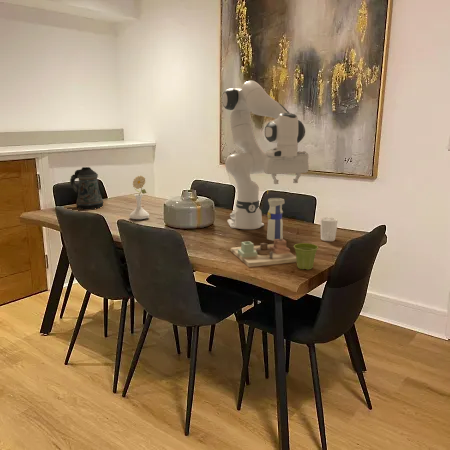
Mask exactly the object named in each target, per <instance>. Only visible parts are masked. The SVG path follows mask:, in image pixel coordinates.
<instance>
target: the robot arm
mask: <svg viewBox="0 0 450 450" xmlns="http://www.w3.org/2000/svg"><path fill="white" fill-rule="evenodd" d="M221 103H222V105H223V107H224V109H226V110H228V111H230V114H229V115H230V121H229V123H230V131H231V135H232V140H233V144H234V145H235V146H236V147H237V148H239V149H240V150H241V151H242V152H243V153H242V152H238V153H237V152H236V153H233V154H229V155H228V156H227V157H226V160H225V163H224V164H225V165H224V166H225V169H226V172H228V174H230V175H231V176H232V177H233V180H234V181H235V183H236V188H237V192H236V193H237V199H236V203H235V208H234V209H233V210H232V212H231V213H229V217H230V218H229V219H227V220H226V221H227V223H228V225H229V227H230V229H231V228H232V229H240V230H256V229H260V228H262V227H264V226H265V223H264V222H263V220H262V219H263V218H262V210H261V209H260V200H259V198H260V197H259V195H260V192H259V191H260V190H259V189H260V188H259V185H258V183H256V182H255V181H253V180H252V179H251V175H253V174H255V175H258V174H259V175H260V174H264V173H265V174H266V175H271V177H272V179H273V185H279V179H277V175H279V174H295V178H293V181H292V182H293V184H298V183H299V179H300V178H301V175H302V174H303V173H305V174H307V173H308V171H309V170H310V169H309V154H308V152H306V151H298V147H299V146H298V145H299V143H300V142H301V141H302V140H303V139H304V138H305V135H306V128H305V125H304V124H303V122H302V121H301V120H300V119H298V115H296V114H295V113H291V112H289V111H288V110H287V109H286V107H285V106H283V104H281V103H280V102H278V101H277V100H275V99H274V98H272V97H271V96H270V95H269V94H268V93H267V92H266V90H265V89H264V88H263V86H262V85H260V84H259V83H258V82H256V81H255V80H248V81H247V80H246V81H245V82H244V83H243V84H242V86H241V87H237V88H236V87H235V88H228V89H225V90H224V92H223V93H222V95H221ZM251 113H252V114H253V115H256V116H260V117H261V116H262V117H268V118H272V119H274V120H271V121H269V122H268V123H267V124H266V126H265V127H264V137H265V138H266V140H267V141H268V142H269V143H272V144H274V143H275V144H276V145H277V146H276V147H274V148H272V149H268V150H267V151H264V150H263V149H262V148H261V147H260V145H259V144H258V142H257V140H256V136H255V133H254V128H253V124H252V120H251Z"/></svg>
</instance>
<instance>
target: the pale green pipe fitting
mask: <svg viewBox="0 0 450 450" xmlns="http://www.w3.org/2000/svg"><path fill="white" fill-rule="evenodd" d="M240 245H241V246H240V247H241V249H238V254H239V255H241V256H242V257H252V256H257V252H256V251H255V250H254V246H255V245H254V242H252V241H249V240H247V241H241V242H240Z"/></svg>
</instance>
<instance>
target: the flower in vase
mask: <svg viewBox="0 0 450 450" xmlns="http://www.w3.org/2000/svg"><path fill="white" fill-rule="evenodd" d="M145 184H146V178H145V176H143V175H137V176H136V177H135V178H134V179H133V181H132V185H133V187H132V188H134V190H135V191H136V192H138V193H136V194H133V196H134V197H135V200H136V207H135V209H134V210H133V211H131V213H130V214H129V218H130V219H132V220H145V219H148V218H149V217H150V216H151V215H150V214H149V212H148V211H146V210H145V209H144V208H143V207H142V198H143V196H144V194H147V191H146V189H144V188H143V187H144V186H145ZM140 189H141V190H140Z"/></svg>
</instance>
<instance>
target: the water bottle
mask: <svg viewBox="0 0 450 450" xmlns="http://www.w3.org/2000/svg"><path fill="white" fill-rule="evenodd" d="M266 194H267V195H268V194H269V191H267V193H266ZM267 203H268V205H269V209H268V211H267V216H266V217H267V228H266V229H267V232H266V233H267V234H266V239H267V240H269V241H273V242H274V239H284V237H283V235H284V234H283V229H284V228H283V226H284V224H283V223H284V222H283V221H284V220H283V213H284V211H283V209H282V208H283V205H285V199H284V198H280V197H271V198H268V199H267Z"/></svg>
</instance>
